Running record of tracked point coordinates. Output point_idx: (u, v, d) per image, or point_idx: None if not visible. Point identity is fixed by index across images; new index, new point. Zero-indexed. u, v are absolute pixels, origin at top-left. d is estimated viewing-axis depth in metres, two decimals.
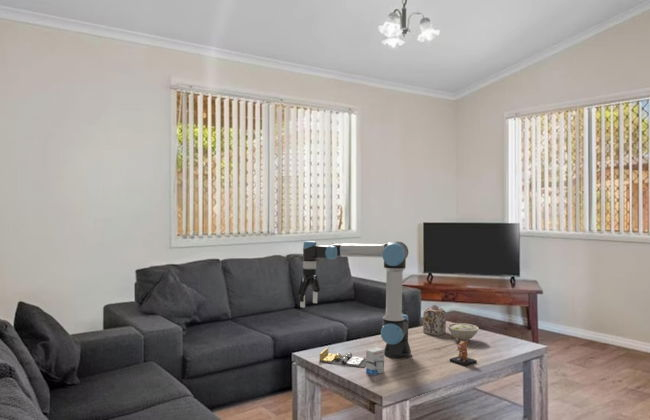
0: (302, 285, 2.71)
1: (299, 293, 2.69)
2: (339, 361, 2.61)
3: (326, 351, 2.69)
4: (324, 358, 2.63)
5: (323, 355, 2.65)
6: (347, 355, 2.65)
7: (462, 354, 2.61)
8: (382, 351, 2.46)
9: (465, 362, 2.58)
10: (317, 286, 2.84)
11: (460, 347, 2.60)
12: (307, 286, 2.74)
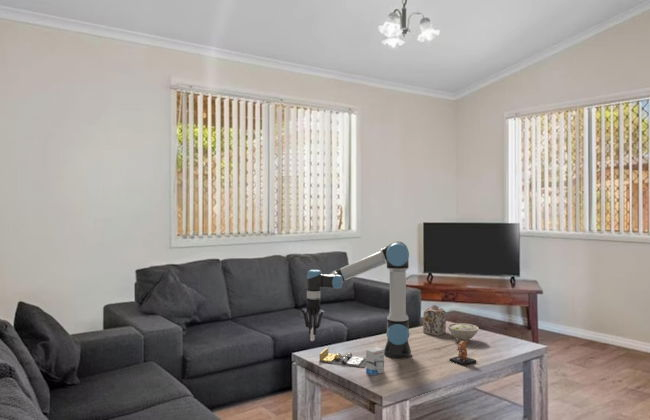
0: None
1: None
2: (339, 361, 2.61)
3: (326, 351, 2.69)
4: (324, 358, 2.63)
5: (323, 355, 2.65)
6: (347, 355, 2.65)
7: (462, 354, 2.61)
8: (382, 351, 2.46)
9: (465, 362, 2.59)
10: None
11: (460, 347, 2.61)
12: (310, 317, 2.68)
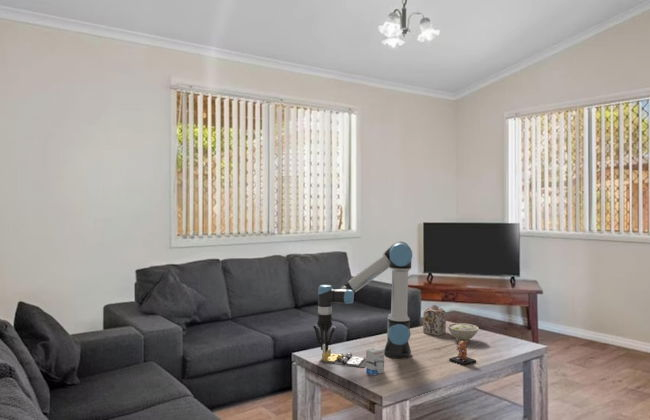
0: None
1: None
2: (339, 361, 2.61)
3: (328, 351, 2.69)
4: (326, 358, 2.62)
5: (325, 355, 2.64)
6: (347, 355, 2.65)
7: (461, 354, 2.62)
8: (382, 351, 2.46)
9: (464, 362, 2.59)
10: (329, 338, 2.65)
11: (459, 347, 2.61)
12: (322, 333, 2.66)
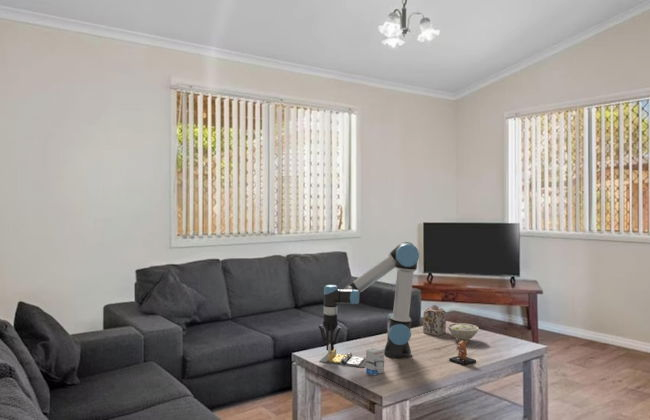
0: None
1: None
2: None
3: (334, 352, 2.68)
4: (332, 359, 2.61)
5: (331, 356, 2.63)
6: None
7: (461, 354, 2.62)
8: (382, 351, 2.46)
9: (464, 362, 2.59)
10: None
11: (459, 347, 2.61)
12: (327, 333, 2.64)
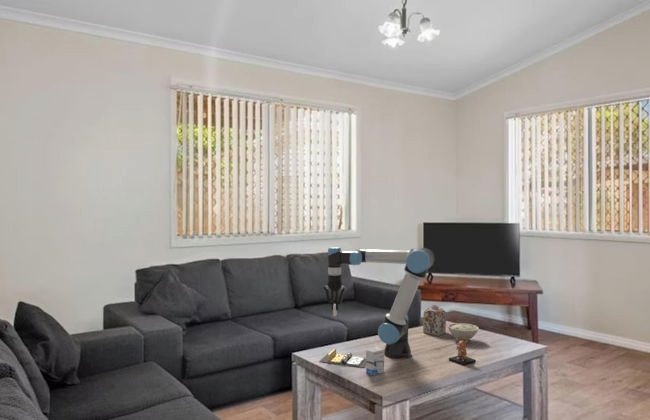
0: None
1: None
2: None
3: (334, 352, 2.68)
4: (332, 359, 2.61)
5: (331, 356, 2.63)
6: None
7: (461, 353, 2.62)
8: (382, 351, 2.46)
9: (464, 361, 2.60)
10: None
11: (459, 346, 2.62)
12: (332, 293, 2.75)
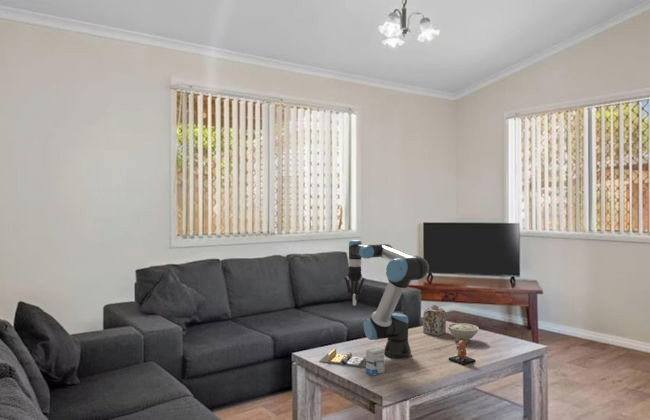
0: None
1: None
2: None
3: (334, 352, 2.68)
4: (332, 359, 2.61)
5: (331, 356, 2.63)
6: None
7: (461, 353, 2.63)
8: (382, 351, 2.46)
9: (463, 361, 2.60)
10: (359, 288, 2.90)
11: (459, 346, 2.62)
12: (352, 283, 2.91)
